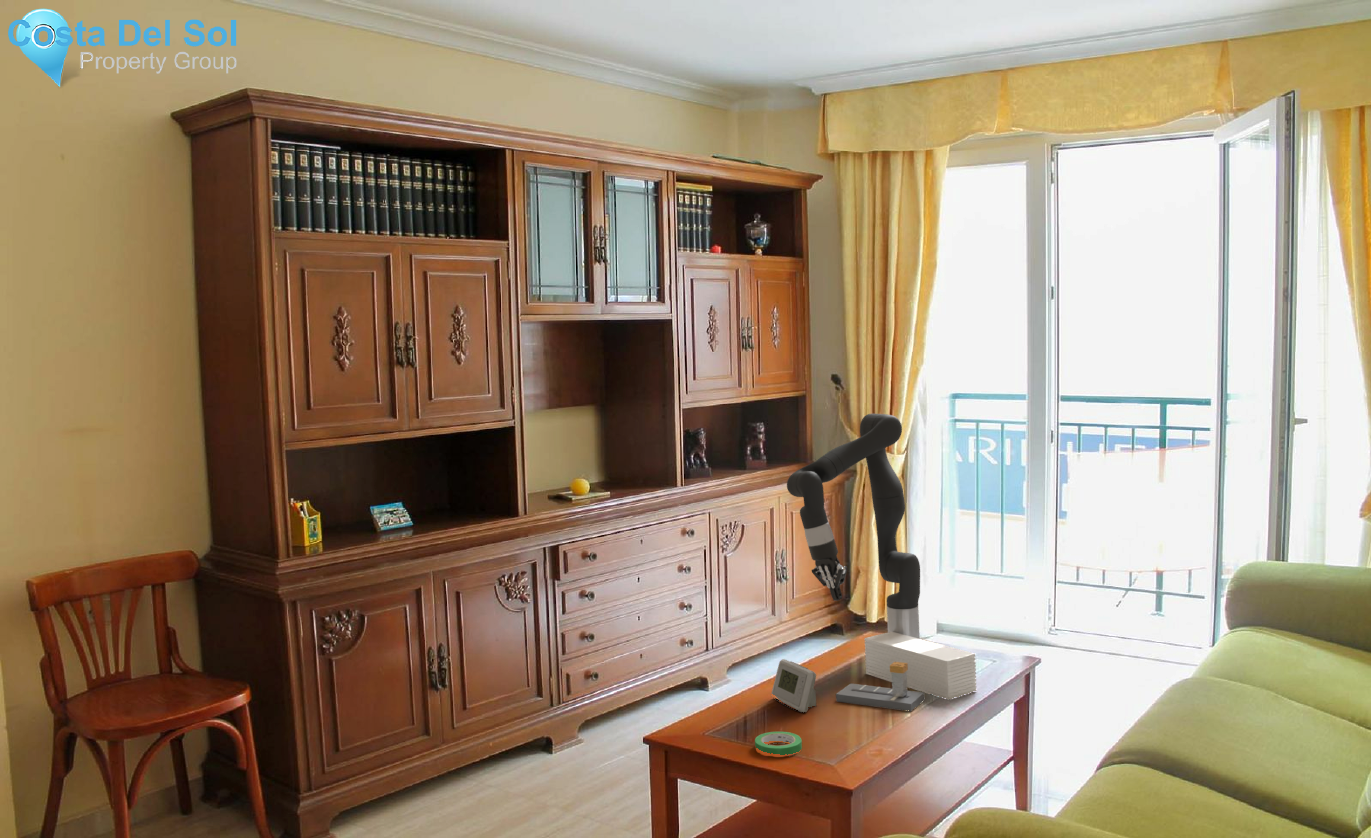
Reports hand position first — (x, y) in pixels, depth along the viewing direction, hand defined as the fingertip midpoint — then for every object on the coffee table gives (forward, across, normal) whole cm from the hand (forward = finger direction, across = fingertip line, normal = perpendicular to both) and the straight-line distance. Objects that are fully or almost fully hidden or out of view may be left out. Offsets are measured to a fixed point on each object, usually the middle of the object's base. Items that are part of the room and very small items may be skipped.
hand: (838, 599), depth 294 cm
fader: (+25, -18, +4) cm, 31 cm away
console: (+26, -12, +6) cm, 29 cm away
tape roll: (+20, -20, +48) cm, 56 cm away
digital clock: (+21, +1, +24) cm, 32 cm away
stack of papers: (+29, -9, -12) cm, 33 cm away
